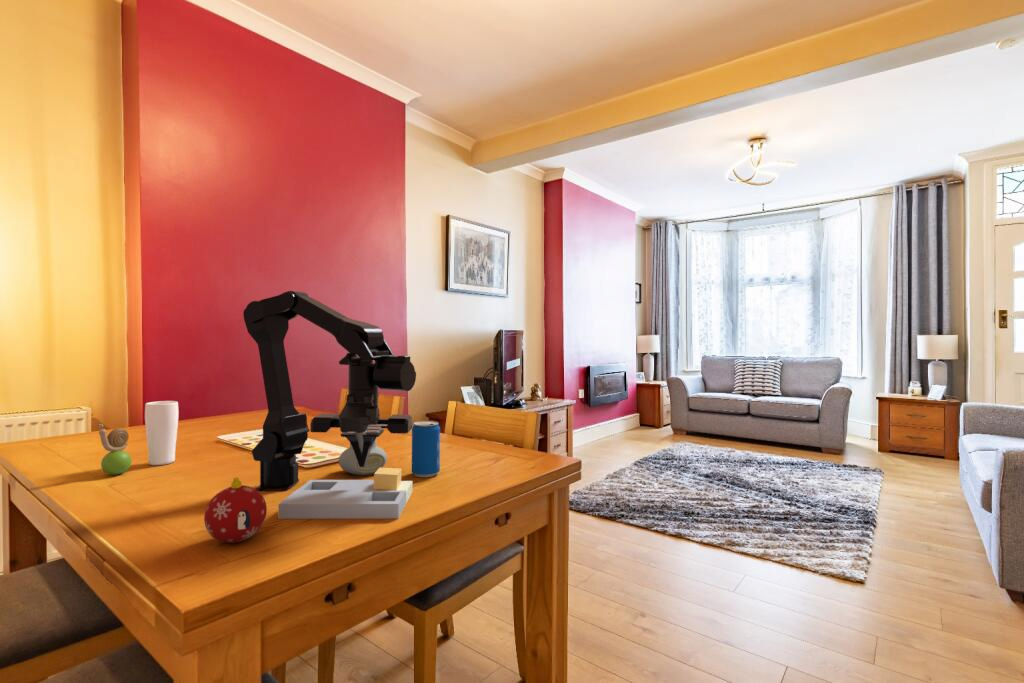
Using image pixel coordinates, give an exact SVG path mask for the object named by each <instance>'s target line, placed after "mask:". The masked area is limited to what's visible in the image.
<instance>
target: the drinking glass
mask: <svg viewBox="0 0 1024 683" xmlns="http://www.w3.org/2000/svg"><path fill="white" fill-rule="evenodd" d="M179 413H180V412H179V402H178V401H176V400H159V401H150V402H146V403H145V406H144V424H145V434H146V443H147V453H148V464H149V465H151V466H163V465H164V466H165V465H169V464H172V463H174V462H175V460H176V448H177V447H176V446H177V437H178V429H179V428H178V427H179V415H180V414H179Z"/></svg>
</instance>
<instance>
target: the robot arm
mask: <svg viewBox="0 0 1024 683" xmlns="http://www.w3.org/2000/svg"><path fill="white" fill-rule="evenodd" d="M298 316H300V317H301V318H303V319H305V320H307V321H308V322H310V323H312V324H314V325H315V326H317V327H319V328H321V329H323V330H324V331H326V332H328V333H329V334H331V335H332V336H333V337H334V339H335V340H336V342H337V343H338V345H340V346H341V347H342V348H343V349H344V350H345V351H347V353H346V355H344V357H342V358H341V359H340V360H339V361H338V364H339V365H340V366H342V365H343V366H345V365H346V366H348V375H347V377H348V381H347V382H348V385H347V388H348V390H347V395H346V400H345V401H346V402H345V405H344V407H343V408H342V410H340V413H321V414H318V415H315V416H313V418H312V419H311V420H310V428H309V426H308V417H307V414H306V413H305V412H302V413H299V411H298V410H297V409H296V407H295V405H294V400H293V391H292V386H291V381H290V374H289V367H288V362H287V361H288V360H287V355H286V350H285V348H286V347H285V343H284V340H285V339H286V336H287V333H288V332H289V328H290V327H289V326H290V325H289V321H291V320H293V319H295V318H297V317H298ZM242 317H243V319H244V324H245V327H246V330H247V332H248V334H249V336H250V337H251V338H252V339H253V340H254V341H255V343H256V344H257V347H258V353H259V360H260V366H261V373H262V379H263V384H264V390H265V397H266V405H267V414H266V417H265V419H264V422H263V424H262V439H261V440H260V441H259V442H258V443H257V444H256V445H255V447H253V449H252V450H251V453H252V458H253V460H254V461H255V462H259V464H260V465H259V485H258V486H257V487H256V488H255V489H256V490H257V491H287V490H290V489H291V488H292V487H293V486H295V485H296V484H297V483H298V482H299V481H300V479H299V462H298V461H297V455H300V454H302V452H303V448H304V447H305V446H304V445H305V443H306V441H308V438H309V436H308V434H309V433H325V434H326V433H327V432H328V431H330V429H332V428H336V429H337V428H339V431H340V432H341V433H340V437H342V438H345V439H347V441H349V444H350V443H351V445H352V447H353V450H354V453H355V455H356V458H357V461H358V464H359V467H364V466H365V464H366V461H367V459H368V456H369V453H370V451H371V448H372V445H373V443H374V441H375V439H376V440H377V438H379V437H380V436H381V435H382V434H383V433H385V429H387V430H388V432H389V433H390V434H402V435H403V434H404V435H405V434H409V432H411V431H412V428H413V418H412V416H411V415H410V414H392V415H391V416H390V417H388V418H380V417H381V416H380V410H379V408H380V407H379V397H380V396H379V395H380V394H379V389H380V390H388V391H399V392H400V391H401V392H410V391H411V390H412V389H413V388H414V386H415V384H416V380H417V372H416V369H415V365H414V364H413V363H412V361H411V356H410V355H395V354H394V353H393V350H392V349H391V348H390V345H389V344H388V342H387V341H386V339H385V337H384V331H383V330H382V328H380V327H379V326H377V325H374V324H371V323H368V322H365V321H361V320H357V319H352V318H349V317H347V316H345V315H344V314H342V313H340V312H338V311H337V310H335V309H333V308H332V307H329V306H328V305H325V304H323V303H322V302H321V301H318V300H317V299H315V298H313V297H311V296H310V295H309V294H308V293H307V292H304V291H297V290H288V291H285V292H282V293H281V294H278V295H274V296H271V297H267V298H263V299H260V300H253V301H250V302H249V303H248V304H247V305H246V307H245V309H243V316H242ZM366 430H367V432H366V433H365V434H363V432H365V431H366Z"/></svg>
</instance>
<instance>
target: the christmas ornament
mask: <svg viewBox="0 0 1024 683" xmlns="http://www.w3.org/2000/svg"><path fill="white" fill-rule="evenodd" d="M267 510H268V509H267V502H266V500H265V497H264V496H263V495H262V493H261V492H259V490H256V488H254V487H252V486H248V485H242V481H241V480H240V478H239V477H237V476H236V477H234V478H233V481H231V486H229V487H226V488H224V489H222V490H220V491H219V492H217V493H216V494H215V495H214V496H213V497H212V498H211V499H210V500H209V502H208V504H207V506H206V508H205V511H204V516H203V519H204V522H203V523H204V526H205V528H206V530H207V533H208V534H209V535H210V537H212V538H214V539H215V540H217V541H219V542H221V543H226V544H235V543H241V542H243V541H246V540H248V539H249V538H251V537H253V536H254V535H255V534H256V533H257V532H259V530H260V529H261V528H262V526H263V525H264V522H265V520H266V517H267V513H268V512H267Z"/></svg>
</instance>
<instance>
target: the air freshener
mask: <svg viewBox="0 0 1024 683" xmlns="http://www.w3.org/2000/svg"><path fill="white" fill-rule="evenodd" d="M366 432H367V430H366V431H365V432H363V434H365V433H366ZM387 461H388V455H387V452H386V451H385V450H384V449H383V448H382V447H379V446H377V438H376V439H375V441H374V443H373V445H372V448H371V451H370V453H369V456H368V459H367V461H366V464H365V466H364V467H359V464H358V461H357V458H356V455H355V453H354V450H353V447H352V445H351V443H350V442H349V447H348V448H346V449H345V450H343V451H342V452H341V453H340V455H339V457H338V465H339V467H340V468H341V469H342V470H343V471H344V472H346V473H348V474H351V475H356V476H369V475H372V474H374V473H375V472H376V471H377V470H378V469H379V468H380V467H382V468H384V466H385V465H386V463H387Z"/></svg>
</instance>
